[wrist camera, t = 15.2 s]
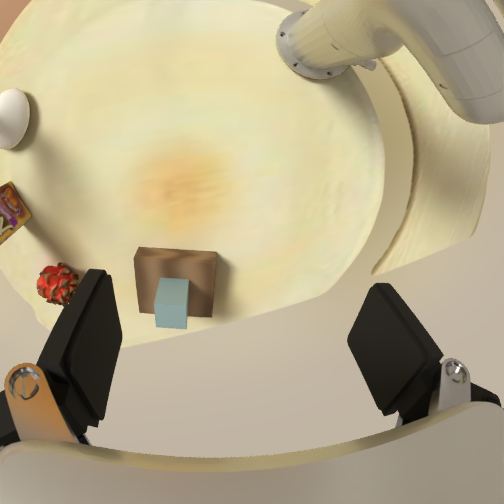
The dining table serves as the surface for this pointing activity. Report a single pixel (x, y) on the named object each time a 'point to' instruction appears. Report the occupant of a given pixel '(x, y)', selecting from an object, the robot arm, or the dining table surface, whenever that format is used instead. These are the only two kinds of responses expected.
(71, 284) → the dragon fruit
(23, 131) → the flower in vase
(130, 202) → the dining table surface
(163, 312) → the block
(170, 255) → the plinth
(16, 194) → the candy box
